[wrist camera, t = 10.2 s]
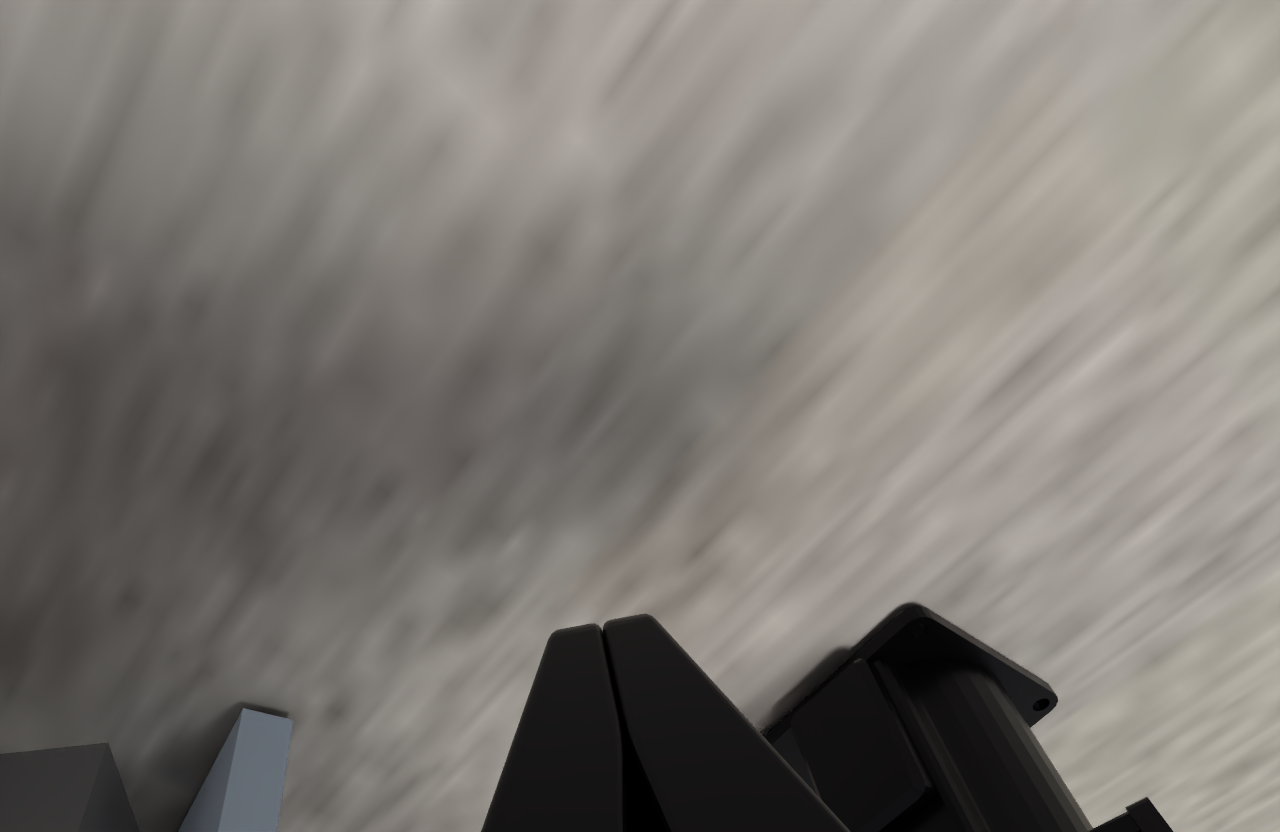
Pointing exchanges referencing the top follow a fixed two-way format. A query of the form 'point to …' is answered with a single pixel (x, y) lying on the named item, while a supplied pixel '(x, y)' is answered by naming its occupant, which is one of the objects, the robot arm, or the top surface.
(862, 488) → the top surface
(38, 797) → the dark grey stepped block
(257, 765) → the door
